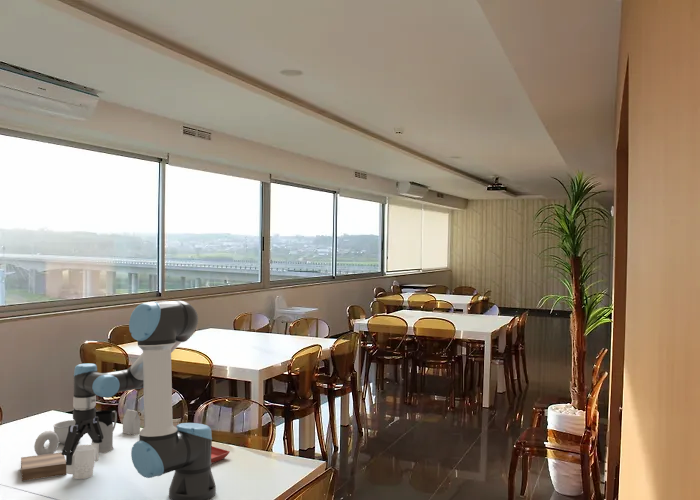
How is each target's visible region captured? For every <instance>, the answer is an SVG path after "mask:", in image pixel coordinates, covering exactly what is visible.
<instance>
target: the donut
mask: <svg viewBox="0 0 700 500" xmlns="http://www.w3.org/2000/svg"><path fill="white" fill-rule="evenodd" d="M47 440H48V441H49V443H48V446H47V447H45V443H46V442H47ZM59 444H60V443H59V439H58V436H57V434H56V433H55V432H54V430H53V431H52V430H45V431H44V432H42V433H40V434H39V435H38V436H37V438H36V439H35V442H34V446H33V448H34V452H35V454H36V456H37V455H45V454H52V453H56V451H57V449H58V447H59Z"/></svg>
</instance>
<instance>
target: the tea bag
mask: <svg viewBox="0 0 700 500" xmlns="http://www.w3.org/2000/svg"><path fill="white" fill-rule="evenodd" d="M140 431H141V418H140V416H139V412H138V411H137V410H133V409H129V408H127V409H125V413H124V415H123V418H122V434H123V433H124V434H128V435H131V434H132V436H135V435H137V434H138V435H139V432H140ZM134 434H135V435H134Z"/></svg>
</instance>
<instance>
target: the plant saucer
mask: <svg viewBox="0 0 700 500" xmlns="http://www.w3.org/2000/svg"><path fill="white" fill-rule="evenodd" d="M229 454H230V451H229V450H227V449H223V448H219V447H217V446H212V448H211V464H213V463H216V462H220V461H222V460H224V459H225V458H226V457H227V456H228V455H229Z"/></svg>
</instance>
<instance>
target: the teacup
mask: <svg viewBox="0 0 700 500" xmlns="http://www.w3.org/2000/svg"><path fill="white" fill-rule="evenodd" d="M70 425H71V426H74V425H75V420H74V419H73V420H71V419H70V420H64V421H59V422H56V423H55V424H54V425H53V432H55V433H56V434H57V436H58V439H59V443H58V444H62V445H64V444H65V441H66V438H67V434H68V429H69V426H70ZM77 434H78V433H77Z"/></svg>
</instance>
